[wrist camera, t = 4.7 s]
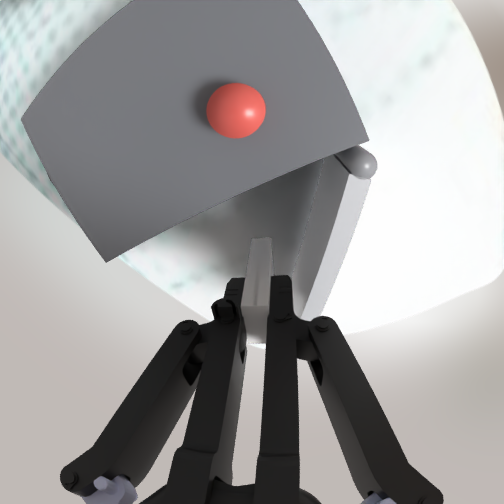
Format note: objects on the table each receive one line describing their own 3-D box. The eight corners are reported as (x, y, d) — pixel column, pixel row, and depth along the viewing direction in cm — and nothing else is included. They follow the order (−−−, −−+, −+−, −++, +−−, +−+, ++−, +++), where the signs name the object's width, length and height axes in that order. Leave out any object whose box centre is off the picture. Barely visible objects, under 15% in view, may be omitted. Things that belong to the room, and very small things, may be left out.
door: (284, 297, 22) (282, 358, 17) (328, 130, 15) (353, 148, 10) (304, 301, 22) (307, 361, 17) (355, 137, 15) (391, 159, 10)
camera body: (79, 113, 15) (2, 137, 9) (261, -7, 11) (246, -69, 4) (141, 217, 20) (86, 278, 13) (335, 123, 15) (375, 144, 8)
